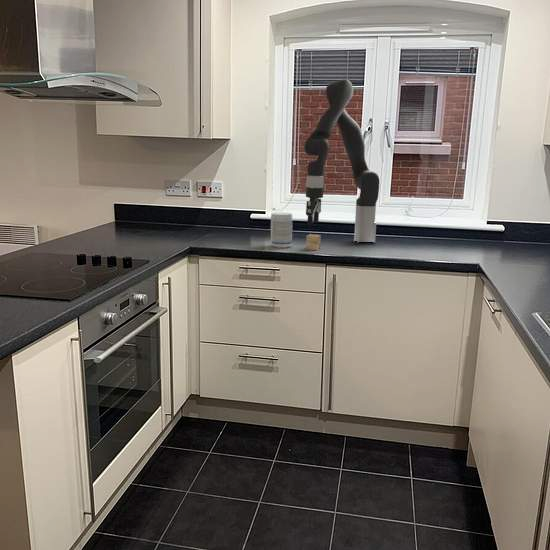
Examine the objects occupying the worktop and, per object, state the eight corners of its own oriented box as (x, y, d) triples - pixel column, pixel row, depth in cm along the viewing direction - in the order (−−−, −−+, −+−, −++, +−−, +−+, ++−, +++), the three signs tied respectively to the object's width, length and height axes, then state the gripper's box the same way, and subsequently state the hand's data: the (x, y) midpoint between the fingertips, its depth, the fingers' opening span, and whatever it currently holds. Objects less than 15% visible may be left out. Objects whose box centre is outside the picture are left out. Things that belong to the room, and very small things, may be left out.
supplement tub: (295, 247, 259) (296, 214, 256) (276, 248, 255) (277, 215, 252) (285, 243, 267) (286, 211, 264) (266, 245, 263) (267, 212, 260)
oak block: (309, 247, 260) (309, 234, 258) (320, 248, 258) (320, 235, 257) (305, 249, 255) (306, 235, 254) (316, 250, 254) (317, 236, 252)
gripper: (311, 185, 259) (309, 221, 262) (301, 186, 246) (299, 225, 249) (327, 186, 256) (325, 222, 260) (318, 187, 243) (316, 226, 247)
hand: (312, 223), depth 254 cm, fingers open, 8 cm apart
